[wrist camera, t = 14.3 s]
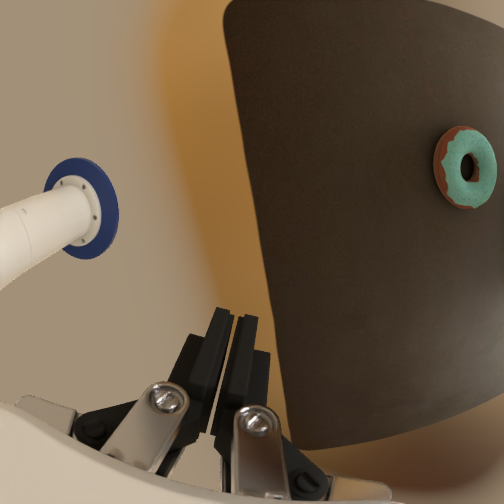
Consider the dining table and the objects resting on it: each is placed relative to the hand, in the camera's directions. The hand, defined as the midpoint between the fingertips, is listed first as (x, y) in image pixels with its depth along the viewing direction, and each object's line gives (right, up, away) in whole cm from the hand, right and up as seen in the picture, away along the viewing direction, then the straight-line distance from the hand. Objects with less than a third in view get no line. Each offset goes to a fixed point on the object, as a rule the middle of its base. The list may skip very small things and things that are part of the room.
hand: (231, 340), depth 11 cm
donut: (+31, +16, +20) cm, 40 cm away
